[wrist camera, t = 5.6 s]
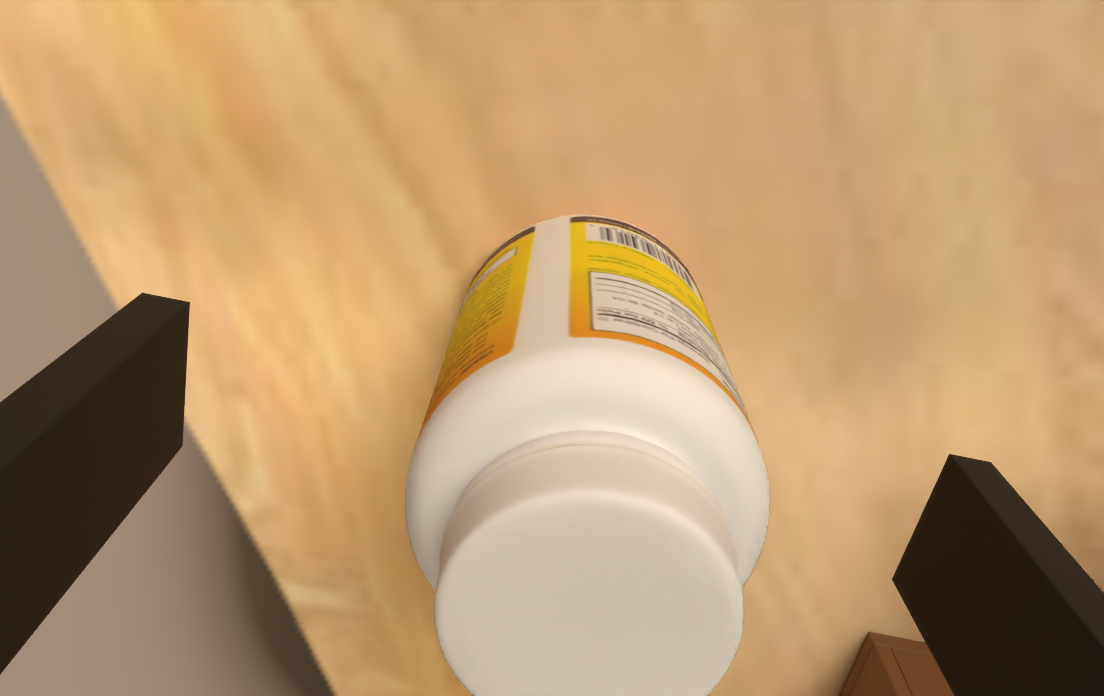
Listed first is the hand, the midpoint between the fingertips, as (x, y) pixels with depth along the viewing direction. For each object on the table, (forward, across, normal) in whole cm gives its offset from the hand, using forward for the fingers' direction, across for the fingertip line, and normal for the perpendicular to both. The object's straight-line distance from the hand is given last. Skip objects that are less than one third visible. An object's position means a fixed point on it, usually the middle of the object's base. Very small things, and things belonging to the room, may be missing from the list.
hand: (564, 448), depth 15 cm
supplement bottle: (+6, 0, 0) cm, 6 cm away
